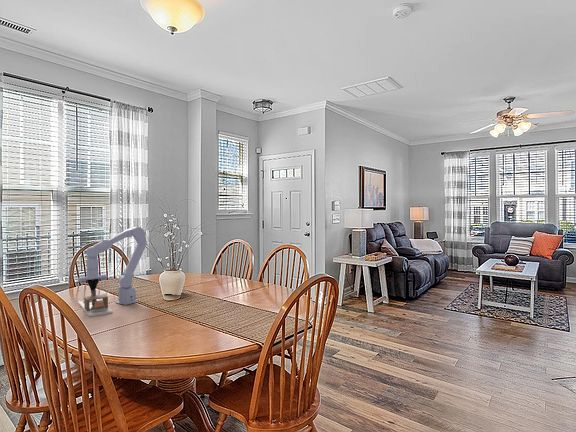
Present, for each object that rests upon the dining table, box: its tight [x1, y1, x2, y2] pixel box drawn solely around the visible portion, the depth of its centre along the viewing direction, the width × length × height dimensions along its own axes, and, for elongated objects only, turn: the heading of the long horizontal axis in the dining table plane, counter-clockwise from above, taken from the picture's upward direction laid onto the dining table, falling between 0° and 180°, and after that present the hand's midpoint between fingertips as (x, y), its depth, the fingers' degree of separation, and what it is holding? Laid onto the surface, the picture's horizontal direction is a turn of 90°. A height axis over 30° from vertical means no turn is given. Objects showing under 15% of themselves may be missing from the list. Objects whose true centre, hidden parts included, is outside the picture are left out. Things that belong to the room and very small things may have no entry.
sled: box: [90, 289, 107, 313], centre depth 192 cm, size 16×6×8 cm, turn 39°
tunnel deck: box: [77, 293, 113, 318], centre depth 197 cm, size 32×11×7 cm, turn 39°
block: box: [94, 299, 104, 309], centre depth 188 cm, size 4×4×4 cm
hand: (92, 293), depth 199 cm, fingers closed, pressing on sled
